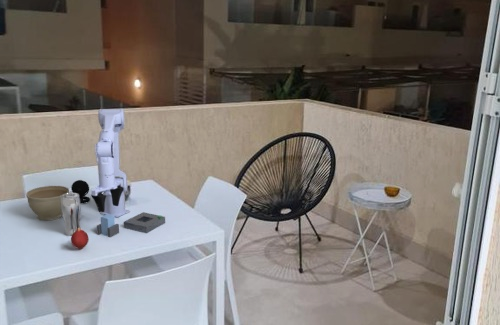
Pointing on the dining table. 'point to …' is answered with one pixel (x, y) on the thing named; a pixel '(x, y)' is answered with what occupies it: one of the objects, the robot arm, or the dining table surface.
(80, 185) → the webcam
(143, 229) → the port block
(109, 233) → the holster
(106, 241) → the dining table surface
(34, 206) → the planter bowl
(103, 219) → the plug
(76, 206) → the beer glass
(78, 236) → the red christmas ornament
